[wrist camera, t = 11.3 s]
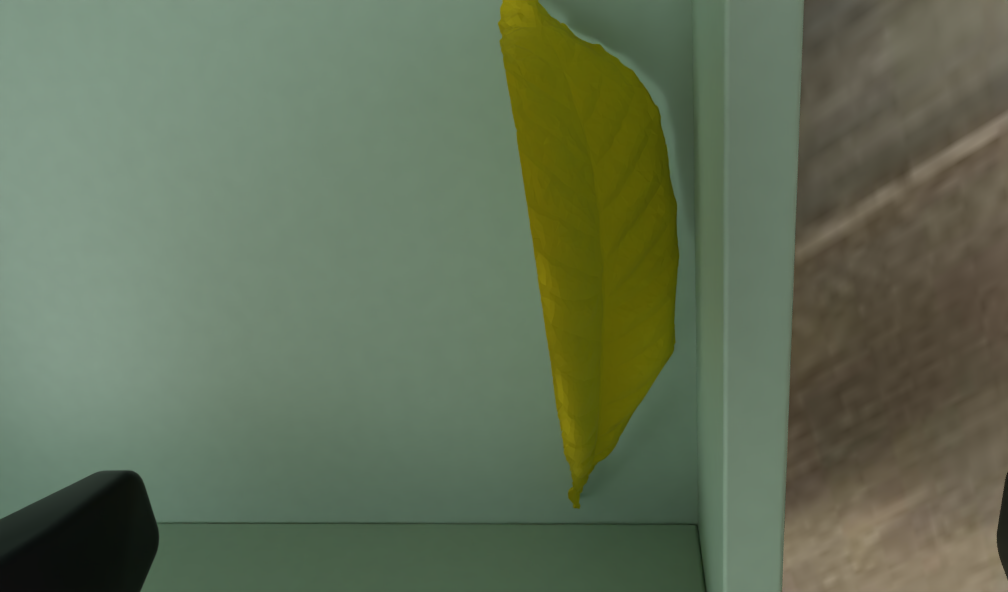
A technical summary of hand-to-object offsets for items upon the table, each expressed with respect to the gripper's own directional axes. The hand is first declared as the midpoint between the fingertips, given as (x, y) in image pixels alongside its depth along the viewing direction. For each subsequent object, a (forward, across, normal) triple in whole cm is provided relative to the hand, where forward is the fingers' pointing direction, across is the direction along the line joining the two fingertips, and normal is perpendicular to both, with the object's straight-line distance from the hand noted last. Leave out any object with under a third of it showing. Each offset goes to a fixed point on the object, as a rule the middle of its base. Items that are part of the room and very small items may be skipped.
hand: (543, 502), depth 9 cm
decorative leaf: (+7, 0, 0) cm, 7 cm away
